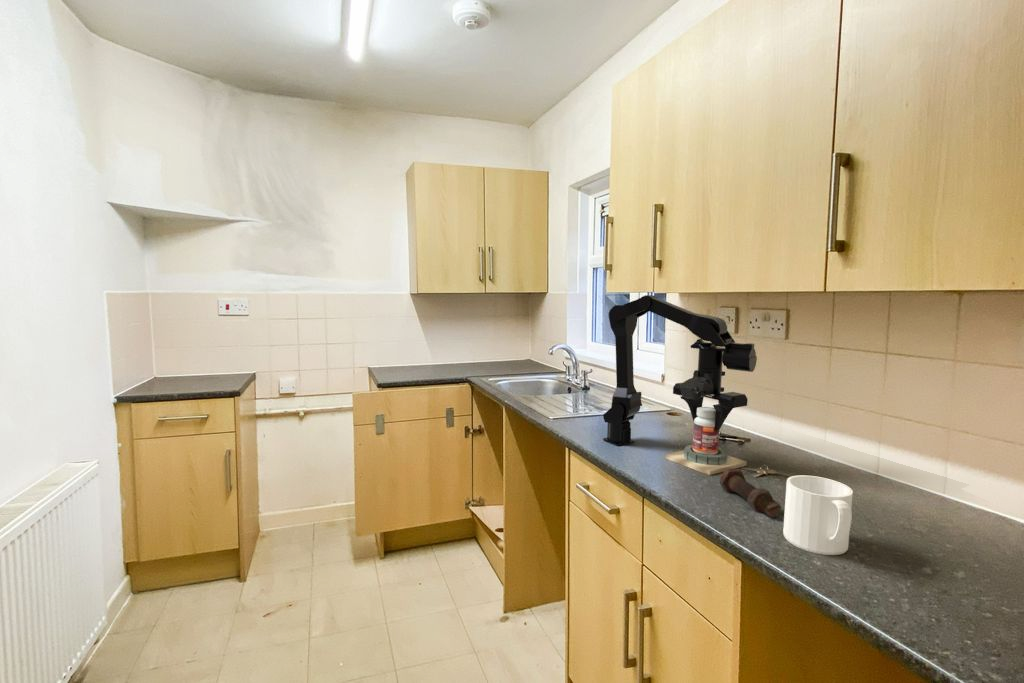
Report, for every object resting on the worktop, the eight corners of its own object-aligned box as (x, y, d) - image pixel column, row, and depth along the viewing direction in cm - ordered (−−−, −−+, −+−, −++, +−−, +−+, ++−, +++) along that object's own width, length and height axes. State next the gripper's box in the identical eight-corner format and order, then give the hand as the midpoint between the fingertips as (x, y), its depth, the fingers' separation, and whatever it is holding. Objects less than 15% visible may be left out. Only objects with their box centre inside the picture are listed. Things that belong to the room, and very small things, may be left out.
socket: (665, 458, 135) (665, 447, 135) (701, 450, 142) (701, 439, 142) (709, 475, 123) (710, 463, 123) (746, 465, 130) (747, 454, 130)
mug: (772, 528, 96) (775, 475, 95) (824, 527, 97) (828, 475, 96) (813, 564, 84) (818, 503, 83) (873, 563, 84) (878, 503, 83)
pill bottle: (702, 456, 129) (705, 412, 128) (687, 449, 135) (689, 406, 133) (723, 454, 131) (725, 411, 129) (707, 447, 136) (709, 405, 135)
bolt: (769, 529, 100) (726, 495, 115) (791, 515, 101) (744, 483, 115) (758, 505, 99) (715, 474, 114) (780, 491, 99) (734, 463, 114)
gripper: (659, 364, 134) (656, 422, 136) (720, 375, 118) (716, 441, 120) (688, 361, 140) (685, 417, 141) (750, 371, 124) (746, 435, 125)
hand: (706, 427), depth 132 cm, fingers closed on pill bottle, 6 cm apart
